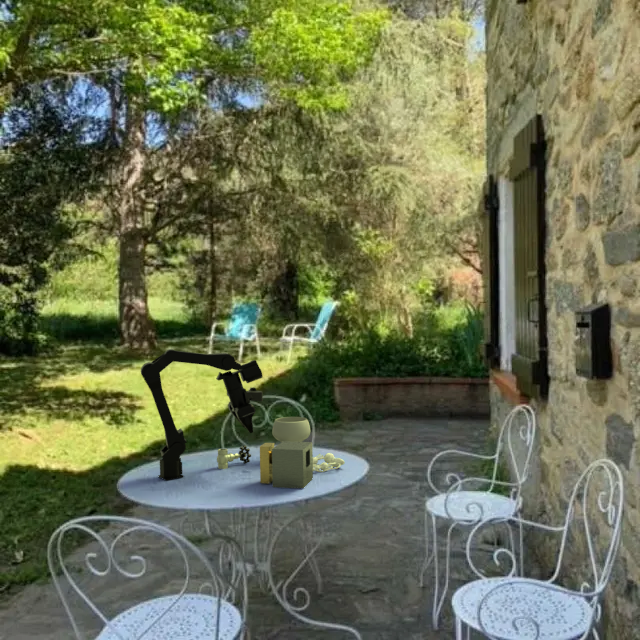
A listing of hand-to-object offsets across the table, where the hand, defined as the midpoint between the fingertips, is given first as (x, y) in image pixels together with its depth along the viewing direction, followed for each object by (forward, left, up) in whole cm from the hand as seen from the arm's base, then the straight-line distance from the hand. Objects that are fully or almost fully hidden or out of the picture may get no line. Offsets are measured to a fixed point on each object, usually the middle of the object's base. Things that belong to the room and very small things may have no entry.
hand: (248, 430), depth 233 cm
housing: (+1, -24, -14) cm, 28 cm away
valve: (-1, +10, -14) cm, 17 cm away
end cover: (-2, -20, -13) cm, 25 cm away
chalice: (+20, +3, -14) cm, 25 cm away
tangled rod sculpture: (+18, -15, -14) cm, 28 cm away
